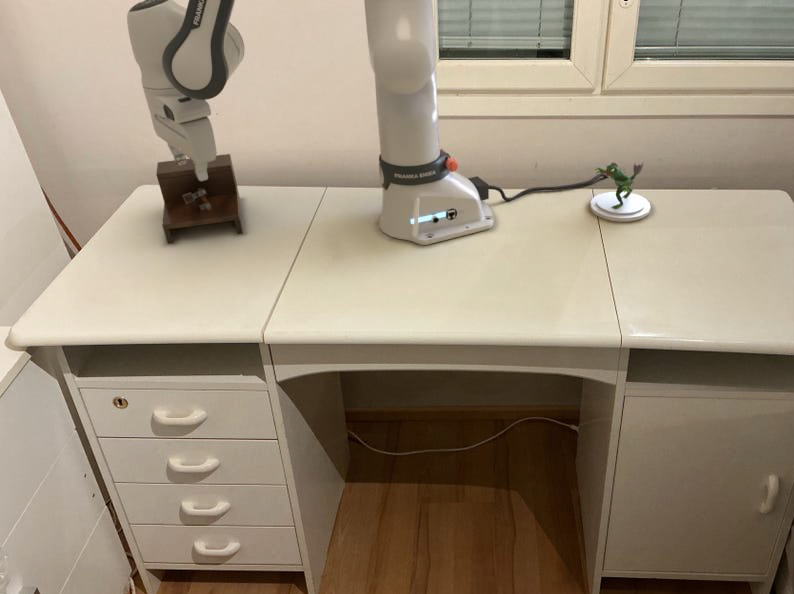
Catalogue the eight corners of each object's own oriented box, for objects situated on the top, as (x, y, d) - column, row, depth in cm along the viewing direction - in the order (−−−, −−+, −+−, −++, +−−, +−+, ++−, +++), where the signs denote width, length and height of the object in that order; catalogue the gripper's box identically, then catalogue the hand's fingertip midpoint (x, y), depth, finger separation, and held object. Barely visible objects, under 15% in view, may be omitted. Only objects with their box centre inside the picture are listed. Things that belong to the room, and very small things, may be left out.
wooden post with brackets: (208, 211, 146) (198, 189, 145) (191, 216, 152) (181, 194, 151) (216, 208, 147) (206, 185, 146) (199, 213, 153) (189, 191, 152)
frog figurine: (579, 202, 159) (582, 154, 152) (628, 191, 163) (633, 144, 156) (610, 226, 150) (615, 177, 144) (661, 214, 154) (668, 165, 148)
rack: (240, 199, 162) (230, 153, 156) (243, 233, 150) (232, 185, 144) (170, 208, 159) (157, 162, 153) (167, 244, 147) (153, 195, 141)
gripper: (133, 88, 141) (154, 159, 150) (178, 116, 129) (198, 193, 137) (166, 80, 144) (185, 151, 153) (214, 108, 132) (231, 183, 140)
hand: (191, 171), depth 145 cm, fingers open, 8 cm apart
